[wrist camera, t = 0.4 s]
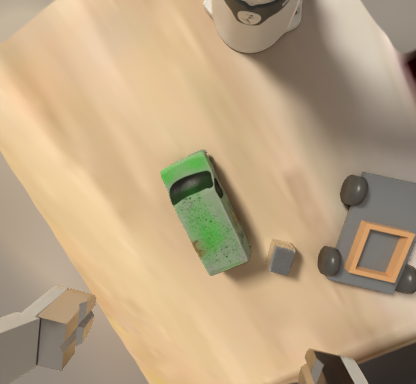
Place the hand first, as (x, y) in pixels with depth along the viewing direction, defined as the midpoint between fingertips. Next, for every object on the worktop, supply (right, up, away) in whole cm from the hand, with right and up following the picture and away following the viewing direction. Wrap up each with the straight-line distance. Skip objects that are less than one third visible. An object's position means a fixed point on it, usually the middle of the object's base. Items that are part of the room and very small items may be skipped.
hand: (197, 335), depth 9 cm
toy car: (+1, +2, +47) cm, 47 cm away
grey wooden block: (+17, -9, +47) cm, 51 cm away
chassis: (+36, -3, +44) cm, 57 cm away
